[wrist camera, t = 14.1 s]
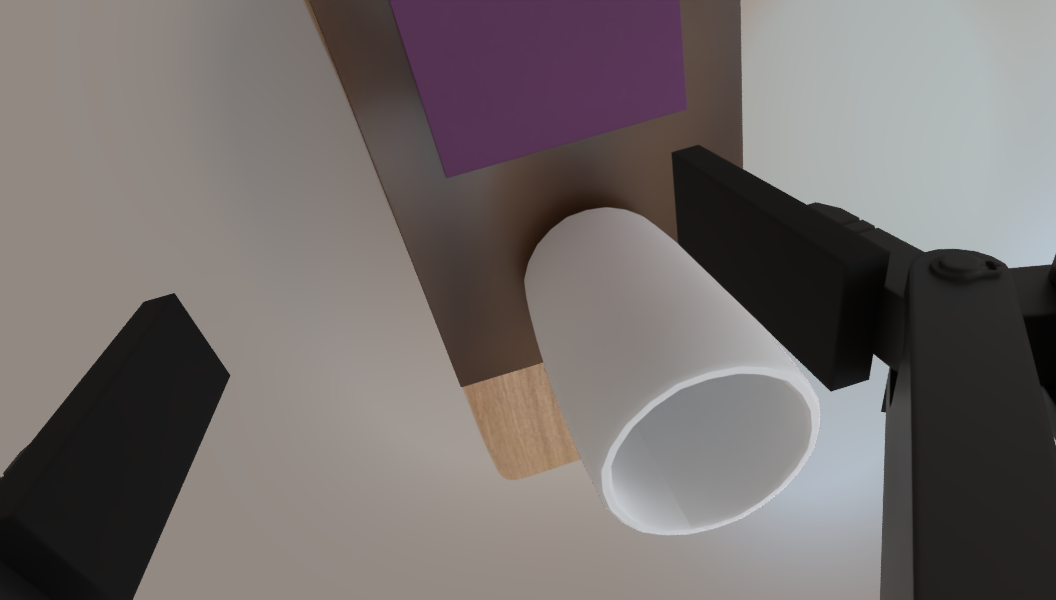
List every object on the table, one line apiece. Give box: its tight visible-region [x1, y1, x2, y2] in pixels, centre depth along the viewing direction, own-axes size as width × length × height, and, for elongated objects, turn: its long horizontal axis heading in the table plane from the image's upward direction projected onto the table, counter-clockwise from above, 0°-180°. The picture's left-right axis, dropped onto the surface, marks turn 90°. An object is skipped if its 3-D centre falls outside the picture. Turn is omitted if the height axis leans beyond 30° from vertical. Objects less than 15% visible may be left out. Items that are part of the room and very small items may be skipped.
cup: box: [524, 207, 820, 535], centre depth 24 cm, size 8×8×14 cm
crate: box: [309, 0, 743, 387], centre depth 38 cm, size 18×23×26 cm
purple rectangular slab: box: [389, 0, 687, 178], centre depth 24 cm, size 12×9×1 cm
